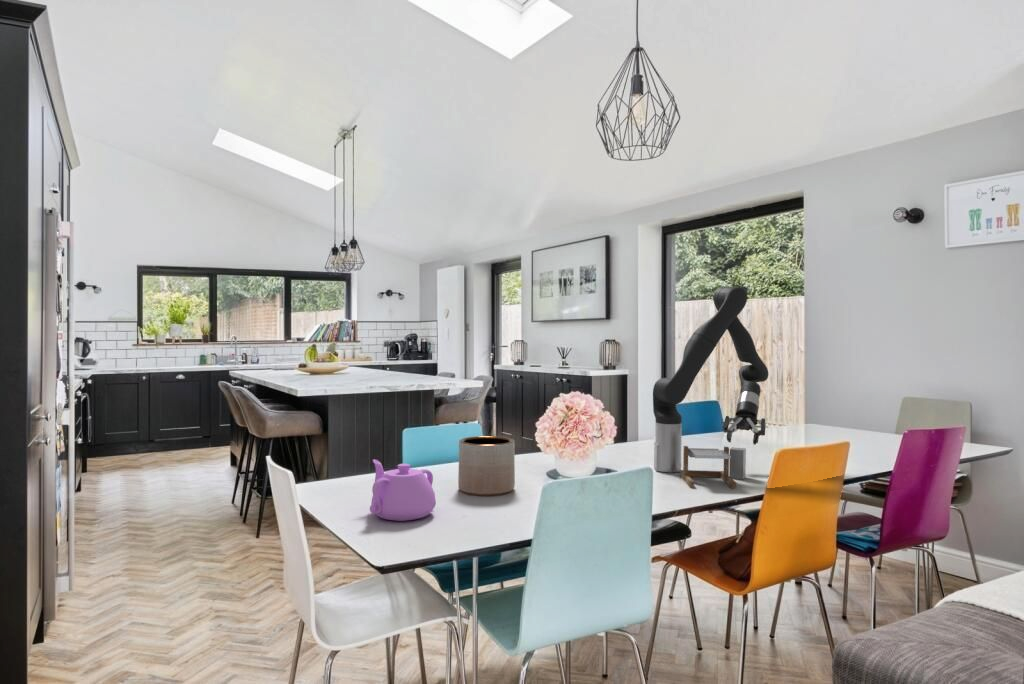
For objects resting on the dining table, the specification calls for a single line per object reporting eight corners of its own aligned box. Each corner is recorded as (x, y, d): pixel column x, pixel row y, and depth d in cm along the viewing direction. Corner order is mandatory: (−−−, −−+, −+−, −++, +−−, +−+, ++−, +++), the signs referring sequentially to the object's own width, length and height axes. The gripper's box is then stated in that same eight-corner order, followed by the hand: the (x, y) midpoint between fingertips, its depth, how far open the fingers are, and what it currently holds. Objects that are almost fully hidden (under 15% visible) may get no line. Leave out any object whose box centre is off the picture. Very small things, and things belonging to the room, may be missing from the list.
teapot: (402, 499, 196) (402, 452, 196) (454, 512, 182) (455, 462, 182) (340, 515, 179) (340, 464, 179) (393, 530, 165) (393, 475, 165)
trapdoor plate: (686, 455, 228) (686, 446, 228) (719, 455, 227) (719, 447, 227) (695, 464, 213) (695, 455, 213) (730, 464, 212) (730, 455, 212)
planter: (512, 497, 199) (513, 445, 199) (454, 496, 200) (454, 444, 200) (516, 484, 217) (516, 436, 216) (462, 482, 218) (462, 435, 218)
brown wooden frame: (680, 475, 230) (680, 442, 230) (722, 476, 229) (723, 443, 229) (690, 487, 213) (690, 452, 212) (736, 489, 211) (736, 453, 211)
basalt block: (729, 478, 227) (729, 449, 227) (732, 475, 231) (732, 447, 231) (743, 479, 225) (743, 450, 225) (745, 477, 229) (745, 448, 229)
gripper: (726, 399, 245) (719, 434, 235) (767, 401, 238) (761, 437, 228) (729, 411, 250) (722, 446, 240) (769, 414, 243) (764, 450, 233)
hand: (741, 442), depth 234 cm, fingers open, 8 cm apart
